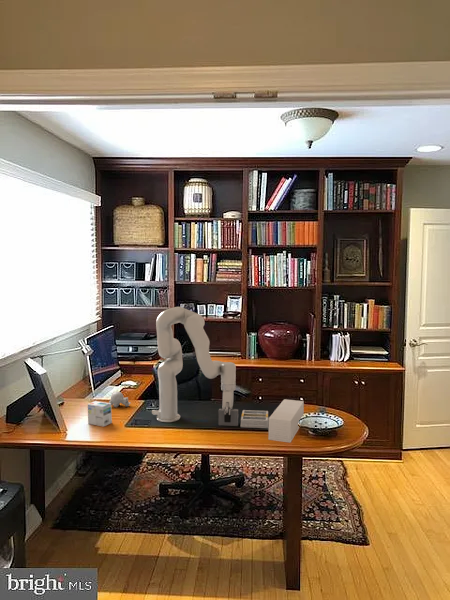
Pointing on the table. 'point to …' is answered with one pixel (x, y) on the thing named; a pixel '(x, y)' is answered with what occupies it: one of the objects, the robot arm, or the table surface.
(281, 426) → the grey rectangular block
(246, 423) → the rack
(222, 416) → the panel
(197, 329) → the robot arm
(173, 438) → the table surface
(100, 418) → the light bulb box
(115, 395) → the round bodied animal figurine
